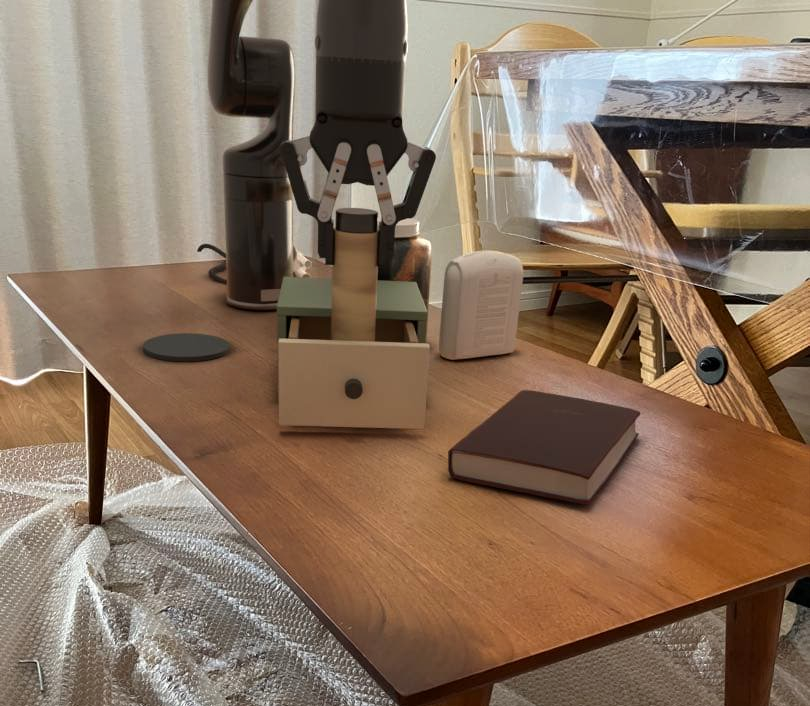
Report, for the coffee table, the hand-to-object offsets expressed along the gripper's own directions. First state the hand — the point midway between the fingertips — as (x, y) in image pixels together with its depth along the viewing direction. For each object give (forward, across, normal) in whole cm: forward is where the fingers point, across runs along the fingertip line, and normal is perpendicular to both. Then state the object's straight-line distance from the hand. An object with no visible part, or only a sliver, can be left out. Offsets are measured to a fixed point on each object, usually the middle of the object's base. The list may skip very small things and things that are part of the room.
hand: (355, 263), depth 84 cm
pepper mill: (+7, 0, 0) cm, 7 cm away
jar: (+15, -4, -26) cm, 31 cm away
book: (+15, -18, +10) cm, 25 cm away
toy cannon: (+16, +9, -66) cm, 68 cm away
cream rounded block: (+15, -16, -23) cm, 32 cm away
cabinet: (+15, 0, -10) cm, 18 cm away
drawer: (+14, 0, 0) cm, 14 cm away
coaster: (+15, +19, -21) cm, 32 cm away
